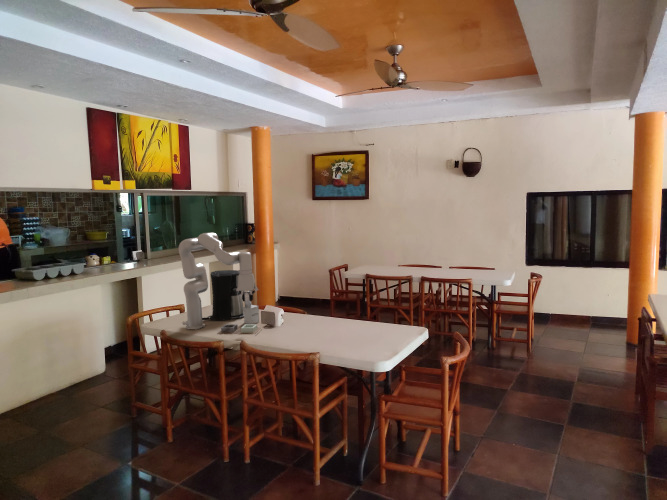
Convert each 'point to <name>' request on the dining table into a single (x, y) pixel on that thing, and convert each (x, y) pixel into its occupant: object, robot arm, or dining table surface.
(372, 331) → the dining table surface
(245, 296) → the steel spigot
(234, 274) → the coffee maker
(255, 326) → the dock socket
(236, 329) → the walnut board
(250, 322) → the supplement box
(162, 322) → the dining table surface
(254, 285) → the robot arm
